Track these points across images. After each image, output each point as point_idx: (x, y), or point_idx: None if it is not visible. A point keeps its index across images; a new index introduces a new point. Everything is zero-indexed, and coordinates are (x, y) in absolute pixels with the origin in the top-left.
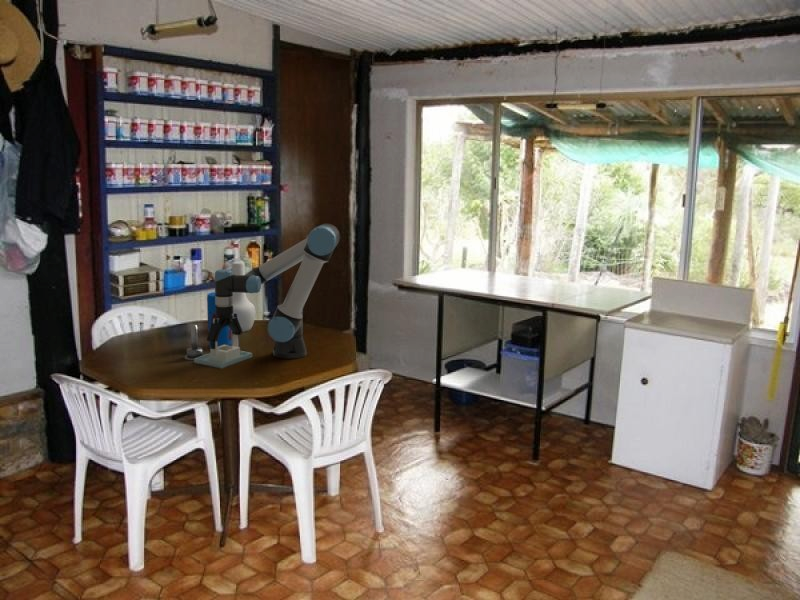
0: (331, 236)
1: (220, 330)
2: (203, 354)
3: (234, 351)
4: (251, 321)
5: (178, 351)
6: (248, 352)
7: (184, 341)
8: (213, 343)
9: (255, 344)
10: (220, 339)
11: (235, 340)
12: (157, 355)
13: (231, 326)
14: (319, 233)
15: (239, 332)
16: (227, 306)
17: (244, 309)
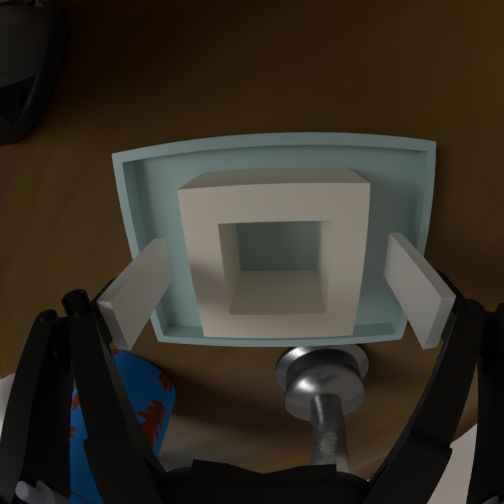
0: None
1: (431, 406)
2: (277, 368)
3: (256, 180)
4: (5, 382)
5: (284, 431)
6: (120, 180)
7: (195, 451)
8: (463, 299)
9: (32, 290)
10: (140, 396)
11: (140, 289)
12: (352, 436)
13: (129, 419)
14: None
15: (69, 313)
16: None
17: (2, 419)
